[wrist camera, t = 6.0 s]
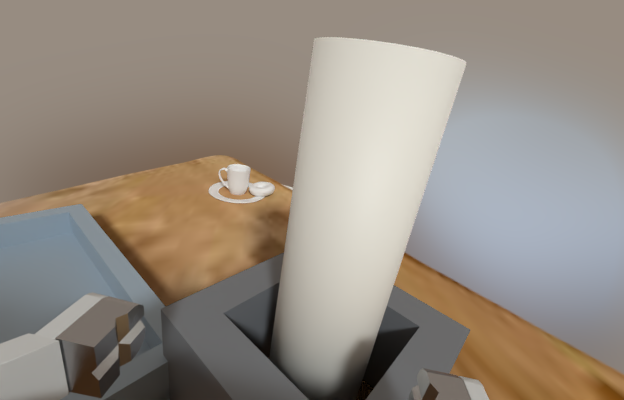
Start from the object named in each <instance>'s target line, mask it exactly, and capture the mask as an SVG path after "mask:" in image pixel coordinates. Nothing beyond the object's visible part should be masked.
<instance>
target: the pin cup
mask: <svg viewBox="0 0 624 400" xmlns="http://www.w3.org/2000/svg"><path fill="white" fill-rule="evenodd" d="M283 256H284V253H282V254H279V255H277V256H275V257H273V258H271V259H269V260H266V261H264V262H262V263H260V264H258V265H255V266H253V267H251V268H249V269H247V270H245V271H242V272H240V273H238V274H236V275H234V276H231V277H229V278H227V279H225V280H223V281H221V282H218V283H216V284H214V285H212V286H210V287H207V288H205V289H203V290H201V291H199V292H197V293H194V294H192V295H190V296H188V297H186V298H183V299H181V300H179V301H177V302H175V303H173V304H170V305H168V306H166V307H164V308H162V309H161V324H162V342H163V355H164V357H165V358H166V360H167V361H168V374H169V394H170V400H309V399H308V398H307V397H306V396H305V395H304V394H303V393H302V392H301V391H300V390H299V389H298V388H297V387H296V386H295V385H294V384H293V383H292V382H291V381H290V380H289V379H288V378H287V377H286V376H285V375H284V374H283V373H282V372H281V371H280V370H279V369H278V368H277V367H276V366H275V365H274V364H273V363H272V362H271V361H270V360H269V359H268V357H269V356H270V349H271V342H272V334H273V327H274V320H275V313H276V306H277V299H278V292H279V285H280V278H281V271H282V263H283ZM469 332H470V329H468V328H466V327H464V326H463V325H461V324H459V323H458V322H456V321H454V320H452V319H451V318H449V317H447V316H446V315H444V314H442V313H440V312H439V311H437V310H435V309H434V308H432V307H430V306H429V305H427V304H425V303H423V302H422V301H420V300H418V299H417V298H415V297H413V296H411V295H410V294H408V293H406V292H405V291H403V290H401V289H399V288H398V287H396V286H394V285H393V289H392V292H391V295H390V298H389V301H388V304H387V307H386V310H385V313H384V316H383V319H382V322H381V325H380V328H379V331H378V334H377V337H376V340H375V343H374V346H373V349H372V352H371V356H370V359H369V362H368V365H367V368H366V371H365V374H364V377H363V380H365V381H366V382H367V383H368V384H369V385H370V386H372V387H373V388H374V389H373V390H372V392H371V393H370V395H369V396H368V397H367V399H366V400H408V398H409V394H410V392H411V389H412V388H413V387H415V386H417V385H418V381H417V375H418V373H419V371H420V370H421V369H422V368H425V369H430V370H434V371H439V372H444V373H448V374H449V373H450V371H451V369H452V367H453V365H454V363H455V361H456V359H457V357H458V354H459V352H460V350H461V348H462V346H463V344H464V342H465V340H466V338H467V336H468V334H469Z"/></svg>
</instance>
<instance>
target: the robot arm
mask: <svg viewBox="0 0 624 400" xmlns="http://www.w3.org/2000/svg"><path fill="white" fill-rule="evenodd" d="M144 315H145V314H144V306H143V305H140V304H137V303H133V302H129V301H125V300H121V299H118V298H114V297H110V296H105V295H101V294H97V293H93V292H92V293H89V294H86V295H84V296H83V297H82V298H80V299H79V300H78V301H77V302H75V303H74V304H73V305H71V306H70V307H69V308H67V309H66V310H65V311H64V312H62V313H61V314H60V315H58V316H57V317H56V318H55V319H53V320H52V321H51V322H49V323H48V324H47V325H46V326H44V327H43V328H42V329H40V330H39V331H38V332H37V333H35V334H30V333H28V334H25V335H22V336H20V337H17V338H14V339H12V340H9V341H6V342H3V343H1V344H0V400H60V399H62V398H64V397H65V396H67V395H68V394H69V392H73V393H78V394H82V395H87V396H92V397H97V398H102V397H103V396H104V394H105V393H106V392H107V391H108V389H109V388H110V387H111V386H112V384H113V383H114V382H115V381H116V379H117V378H118V377H119V376H120V367H121V366H122V365H124V364H126V363H128V362H130V361H132V359H133V358H134V357H135V355H136V354H137V353H138V351H139V349H140V347H141V345H142V343H143V341H144V337H145V326H144V324H143V323H142V322H141V320H140V319H141V318H142V317H143V316H144ZM417 381H418V385H417V386H415V387H413V388H412V389H411V392H410V394H409V398H408V400H489V398H488V396H487V394H486V392H485V390H484V388H483V385H482V384H481V383H480V382H479V381H478V380H475V379H470V378H466V377H461V376H457V375H453V374H448V373H444V372H439V371H434V370H430V369H425V368H422V369H421V370H420V371H419V373H418V375H417Z"/></svg>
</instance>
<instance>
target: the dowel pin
mask: <svg viewBox="0 0 624 400" xmlns="http://www.w3.org/2000/svg"><path fill="white" fill-rule="evenodd" d="M465 66H466V61H464V60H462V59H460V58H457V57H454V56H451V55H448V54H444V53H440V52H436V51H431V50H426V49H422V48H417V47H411V46H406V45H400V44H394V43H387V42H380V41H372V40H364V39H354V38H339V37H321V38H315V39H314V44H313V51H312V57H311V65H310V72H309V79H308V86H307V93H306V100H305V107H304V114H303V122H302V128H301V136H300V143H299V150H298V157H297V164H296V172H295V178H294V185H293V192H292V200H291V207H290V214H289V221H288V228H287V235H286V242H285V249H284V256H283V263H282V271H281V278H280V285H279V292H278V299H277V306H276V313H275V320H274V327H273V334H272V342H271V349H270V356H269V360H270V361H271V362H272V363H273V364H274V365H275V366H276V367H277V368H278V369H279V370H280V371H281V372H282V373H283V374H284V375H285V376H286V377H287V378H288V379H289V380H290V381H291V382H292V383H293V384H294V385H295V386H296V387H297V388H298V389H299V390H300V391H301V392H302V393H303V394H304V395H305V396H306V397H307V398H308V399H309V400H356V398H357V395H358V392H359V389H360V386H361V383H362V380H363V377H364V374H365V371H366V368H367V365H368V362H369V359H370V356H371V352H372V349H373V346H374V343H375V340H376V337H377V334H378V331H379V328H380V325H381V322H382V319H383V316H384V313H385V310H386V307H387V304H388V301H389V298H390V295H391V292H392V289H393V285H394V282H395V279H396V276H397V273H398V270H399V267H400V264H401V261H402V258H403V255H404V252H405V249H406V246H407V243H408V239H409V237H410V234H411V231H412V227H413V225H414V221H415V218H416V215H417V212H418V209H419V206H420V203H421V200H422V197H423V194H424V191H425V187H426V185H427V182H428V179H429V176H430V173H431V170H432V167H433V164H434V160H435V157H436V155H437V151H438V148H439V145H440V142H441V139H442V136H443V133H444V130H445V127H446V124H447V121H448V118H449V115H450V112H451V109H452V105H453V103H454V100H455V97H456V94H457V91H458V87H459V84H460V81H461V78H462V75H463V72H464V69H465Z"/></svg>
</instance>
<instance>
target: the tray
mask: <svg viewBox="0 0 624 400" xmlns="http://www.w3.org/2000/svg"><path fill="white" fill-rule="evenodd" d="M92 292H93V293H97V294H101V295H105V296H110V297H114V298H118V299H121V300H125V301H129V302H133V303H137V304H140V305H143V306H144V314H145V315H144V316H143V317H142V318H141V319H140V320H141V322H142V323H143V324H144V326H145V337H144V341H143V343H142V345H141V347H140V349H139V351H138V353H137V354H136V355H135V357H134V358H133V359H132V361H130V362H128V363H126V364H124V365H122V366H121V367H120V376H119V377H118V378H117V379H116V381H115V382H114V383H113V384H112V386H111V387H110V388H109V389H108V391H107V392H106V393H105V394H104V396H103V397H102V398H97V397H92V396H87V395H82V394H78V393H73V392H69V394H68V395H67V396H65V397H64V398H62V399H60V400H170V394H169V374H168V361H167V360H166V358H165V357H164V355H163V342H162V324H161V309H162V308H164V307H165V305H164V304H163V303H162V302H161V301H160V299H159V298H158V297H157V296H156V294H155V293H154V292H153V291H152V290H151V288H150V287H149V286H148V285H147V283H146V282H145V281H144V280H143V279H142V277H141V276H140V275H139V274H138V272H137V271H136V270H135V269H134V268H133V266H132V265H131V264H130V263H129V261H128V260H127V259H126V258H125V257H124V255H123V254H122V253H121V252H120V250H119V249H118V248H117V247H116V246H115V244H114V243H113V242H112V241H111V239H110V238H109V237H108V236H107V235H106V233H105V232H104V231H103V230H102V228H101V227H100V226H99V225H98V224H97V222H96V221H95V220H94V219H93V217H92V216H91V215H90V214H89V213H88V211H87V210H86V209H85V208H84V206H83V205H82V204H78V205H72V206H67V207H61V208H55V209H49V210H43V211H37V212H32V213H26V214H20V215H14V216H8V217H2V218H0V344H1V343H3V342H6V341H9V340H12V339H14V338H17V337H20V336H22V335H25V334H28V333H30V334H35V333H37V332H38V331H39V330H40V329H42V328H43V327H44V326H46V325H47V324H48V323H49V322H51V321H52V320H53V319H55V318H56V317H57V316H58V315H60V314H61V313H62V312H64V311H65V310H66V309H67V308H69V307H70V306H71V305H73V304H74V303H75V302H77V301H78V300H79V299H80V298H82V297H83V296H84V295H86V294H89V293H92Z"/></svg>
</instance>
